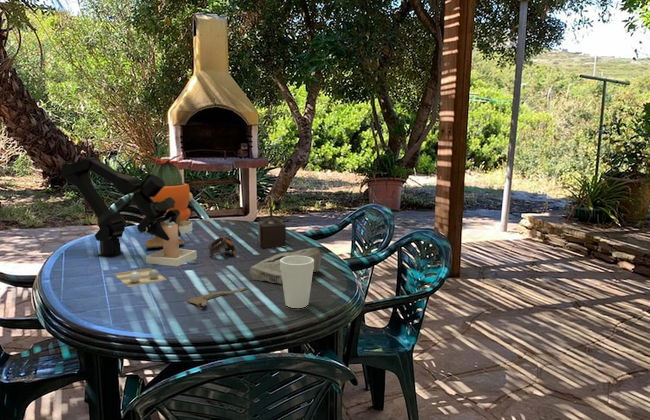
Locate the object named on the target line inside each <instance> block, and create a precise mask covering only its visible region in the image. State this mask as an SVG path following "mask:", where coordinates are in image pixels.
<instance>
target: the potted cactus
mask: <svg viewBox="0 0 650 420" xmlns="http://www.w3.org/2000/svg"><path fill="white" fill-rule="evenodd" d="M179 157H181V154H178V155H176V156H173V157H171V158H169V156H166V158H165V157H160V158H161V159H160V158H158V157H155V156H152V155H150V156H149V158H151V159H154V160H156V161H154V160H148V163H150V164H151V163H152V164H155V165H154V167H153V169H152V170H151V173H153V175H155V176H157V177H159V178H160V179H162V180H163V181H164V183H165V186H164V187H163V188H162V189H161V191H160V192H159V193H158V194H157V195H156V196H155V197H151V199H152V200H153V201H154V202H162V201H164V200H165V199H166V198H168V197H171V198H173V200H175V205H174V206H175V207H173V208H170V209H167V211H169V210H173V209H177V210H178V211H179V212H180V224H179V231H180V234H182V233H183V234H188V233H190V231H191V232H193V222H192V221H189V220H188V219H189V218H190V216H192V215H191V214H192V213H191V212H192V211H191V209H190V208H189V207H188V206H189V203H190V202H191V201H192V200H193V193H192V192H190V191H191V189H190V185H189V183H185V181H183V175H182V171H181V170H180V169H179V166H177V164H178V162H181V161H183V159H179V160H175V159H177V158H179ZM156 164H157V165H156ZM144 217H145V216H142V218H144ZM147 230H148V229H147V227H146V231H147ZM187 232H188V233H187ZM144 233H145V234H147V233H146V232H144Z"/></svg>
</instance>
